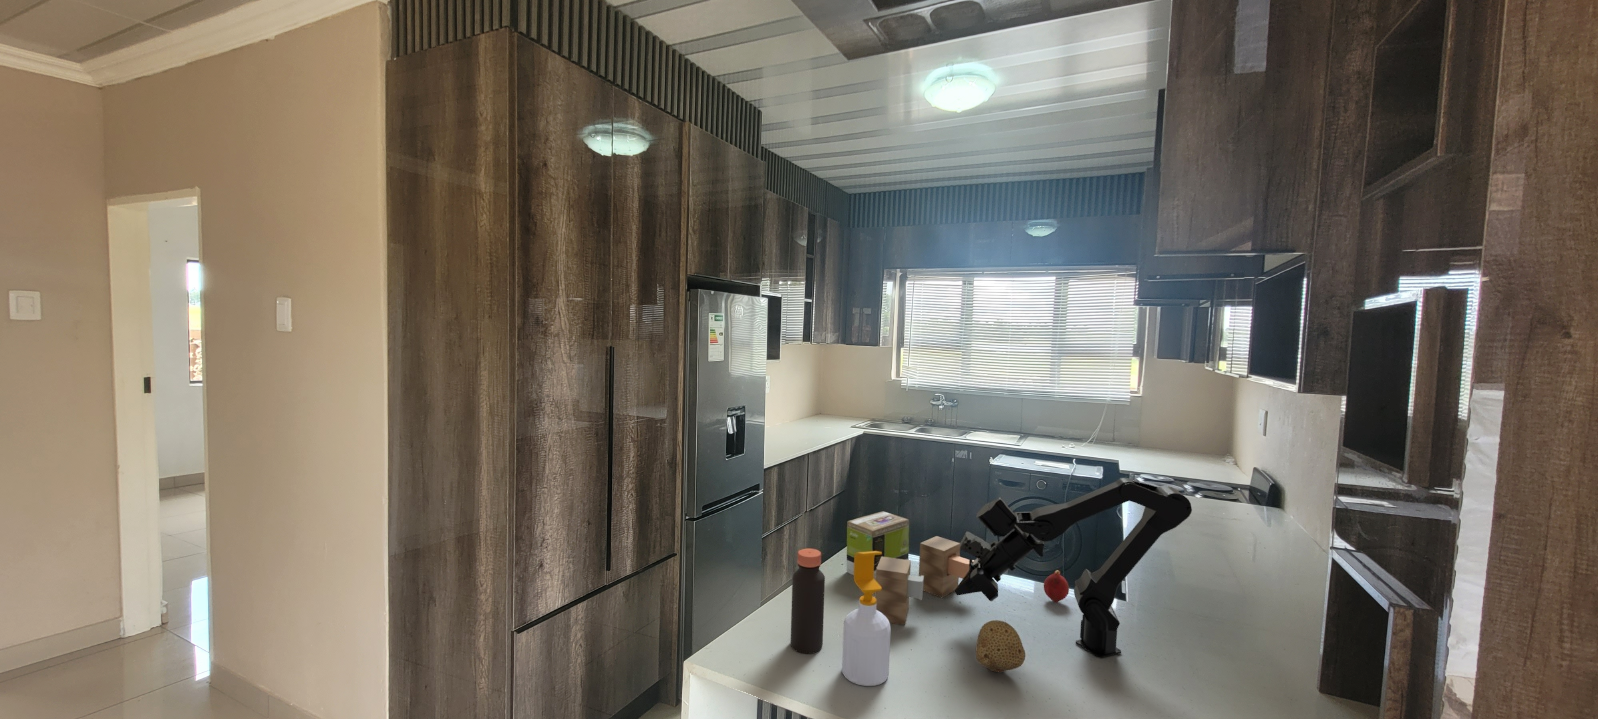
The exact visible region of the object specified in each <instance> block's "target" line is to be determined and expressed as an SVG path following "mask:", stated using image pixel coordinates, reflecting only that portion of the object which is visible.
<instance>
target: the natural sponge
mask: <svg viewBox="0 0 1598 719" xmlns="http://www.w3.org/2000/svg"><path fill="white" fill-rule="evenodd" d="M978 633H979V634H978V636H977V642H976V647H975V658H976V660H977V662H978V663H979V664H980V665H981V666H982V667H985V668H986V669H989V670H990V671H991V672H995V673H1004V672H1006V671H1012V670H1015V669H1018V668H1020V667H1022V665H1023V664H1024V661H1026V651H1025V648H1024V646H1023V643H1022V640H1021V637H1020V635H1019V633H1018V631H1017V630H1016V628H1014V627H1013V626H1011V624H1010V623H1008V622H1006V621H1002V620H997V619H995V620H990V621H987V622H985V623H984V624H983V625H982V626H981V628H980V630H979V632H978Z"/></svg>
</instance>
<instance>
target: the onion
mask: <svg viewBox="0 0 1598 719" xmlns="http://www.w3.org/2000/svg"><path fill="white" fill-rule="evenodd" d="M1043 591H1044V593H1045V595H1046V596H1047V597H1048V598H1049V599H1050V600H1052V601H1053V602H1054V603H1059V602H1060V601H1062V600H1064V599H1066V597H1068V595H1069V592H1070V587H1069V583H1068V581H1067V580H1066V578H1065V577H1064V576H1062V575H1061V571H1060V570H1058V569H1057V570H1055V571H1054V573H1052V574H1050V575H1049V576H1047V577H1046V578H1045V579H1044V582H1043Z"/></svg>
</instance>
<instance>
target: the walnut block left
mask: <svg viewBox="0 0 1598 719" xmlns="http://www.w3.org/2000/svg"><path fill="white" fill-rule="evenodd" d="M911 563H912V560H911V559H910V560H904V559H896V558H889V557H881V559H880V561H879V564H878V566H877V569H876V582H877V583H878V584H879V585H880V586H881V587H882V590H881V591H875V593H874V594H875V596H874V597H875V598H876V600H877V601H876V610H878V611H879V612H881V613H882V614H883V615H884V616H885V617H886V618H887V619H888V620H889V623H890V624H896V625H902V626H906V624H907V623H906V622H907V617H908V614H909V609H910V597H907V585H908V576H909V575H911Z"/></svg>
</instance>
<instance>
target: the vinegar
mask: <svg viewBox="0 0 1598 719" xmlns="http://www.w3.org/2000/svg"><path fill="white" fill-rule="evenodd" d="M796 563H797V566H798V568H797V569H796V570H795V571H794V572H793V574H792V577H791V578H792V580H791V583H792V584H791V585H792V586H791V609H790V610H791V613H790V614H791V615H790V646H791V648H792V649H793V650H794V651H795V652H798V653H801V654H814V653H817V652H819V651H820V650H821V649H822V648H823V644H824V643H823V641H824V640H823V639H824V619H825V618H824V617H825V616H824V614H825V613H824V612H825V586H826V582H825V581H826V577H825V575H824V573H823V572H822V571H821V569H820V567H821V565H822V552H821V551H820V550H818V549H816V548H810V547H809V548H802V549H799V550H798V551H797V562H796Z"/></svg>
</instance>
